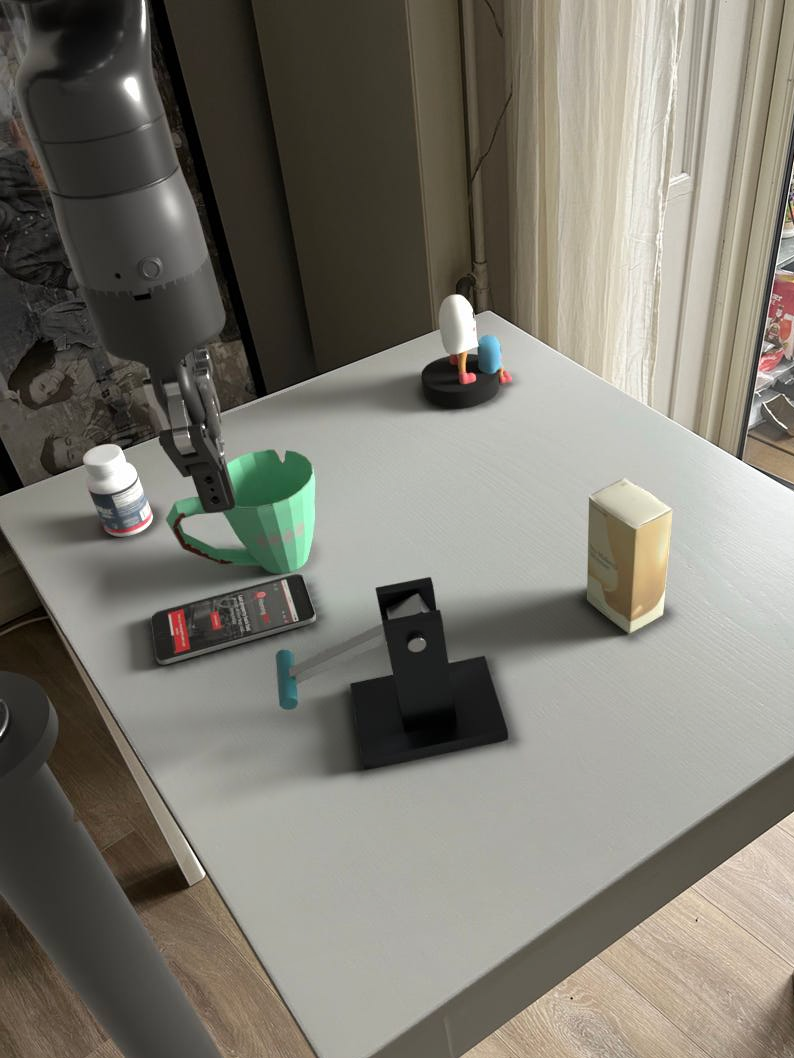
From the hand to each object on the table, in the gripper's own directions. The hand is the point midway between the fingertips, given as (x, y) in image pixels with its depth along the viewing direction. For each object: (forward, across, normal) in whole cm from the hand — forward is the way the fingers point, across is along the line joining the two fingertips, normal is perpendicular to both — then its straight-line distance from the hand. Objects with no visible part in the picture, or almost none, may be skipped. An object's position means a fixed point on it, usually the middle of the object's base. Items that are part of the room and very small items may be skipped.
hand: (220, 505), depth 68 cm
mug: (+23, -23, -2) cm, 33 cm away
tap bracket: (+23, +2, +12) cm, 26 cm away
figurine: (+23, -51, +26) cm, 62 cm away
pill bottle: (+23, -35, -16) cm, 45 cm away
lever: (+15, +2, +7) cm, 17 cm away
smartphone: (+23, -15, -4) cm, 28 cm away
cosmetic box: (+23, -6, +32) cm, 40 cm away
